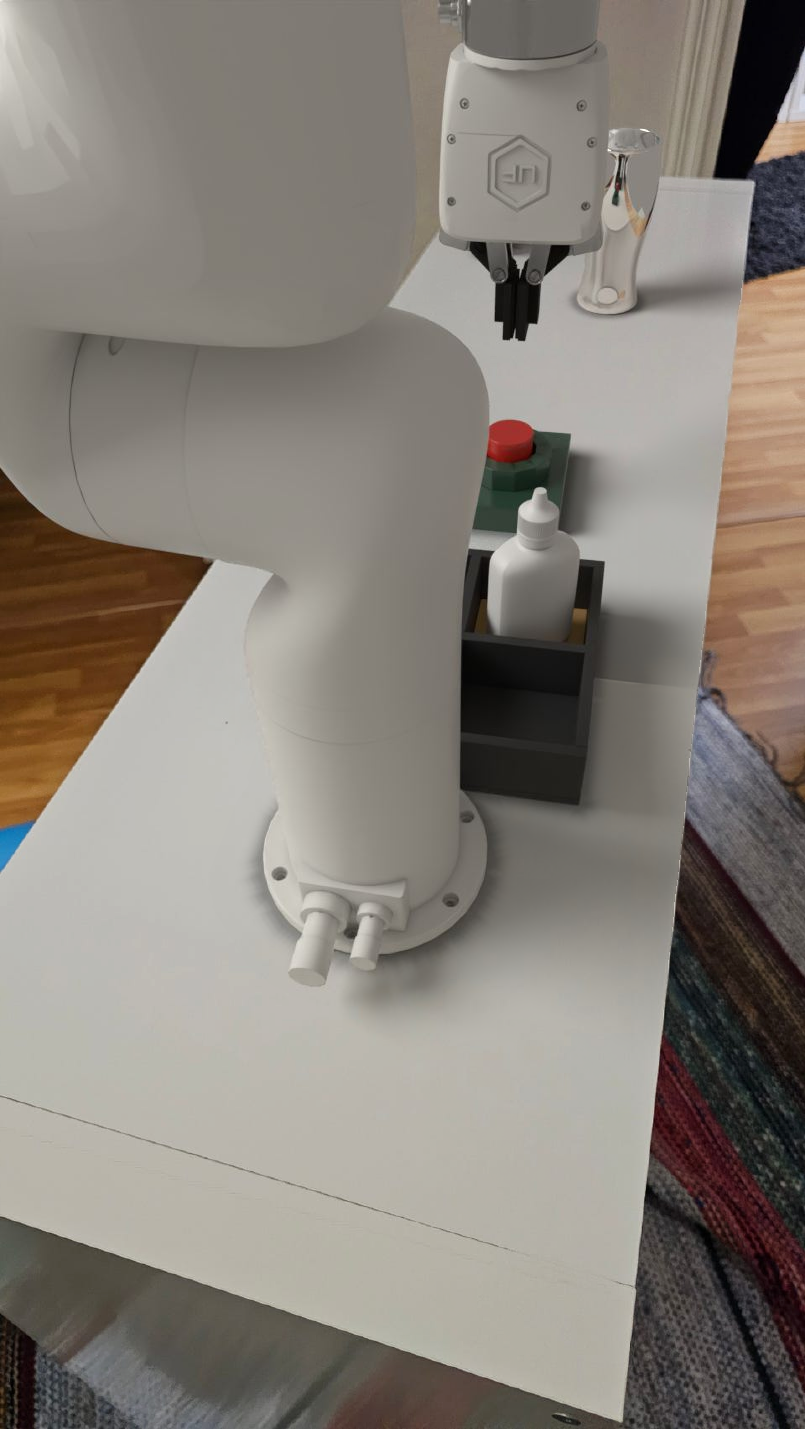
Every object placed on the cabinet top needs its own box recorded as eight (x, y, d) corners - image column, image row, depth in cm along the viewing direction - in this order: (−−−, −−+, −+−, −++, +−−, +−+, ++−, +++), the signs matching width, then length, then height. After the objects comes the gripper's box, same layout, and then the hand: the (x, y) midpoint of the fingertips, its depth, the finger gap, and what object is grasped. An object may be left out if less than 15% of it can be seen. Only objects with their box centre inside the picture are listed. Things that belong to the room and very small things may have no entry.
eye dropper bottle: (488, 615, 66) (494, 467, 57) (570, 619, 66) (588, 470, 57) (484, 660, 64) (490, 511, 55) (570, 665, 63) (589, 515, 54)
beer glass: (621, 281, 101) (642, 121, 90) (653, 309, 97) (679, 145, 86) (561, 293, 100) (575, 132, 89) (590, 322, 96) (609, 157, 84)
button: (529, 466, 73) (531, 446, 72) (482, 463, 74) (483, 443, 73) (534, 440, 76) (536, 420, 74) (489, 437, 76) (490, 417, 75)
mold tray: (578, 806, 56) (587, 756, 53) (299, 768, 59) (289, 719, 56) (597, 611, 67) (605, 560, 64) (361, 587, 70) (356, 537, 67)
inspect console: (557, 537, 73) (561, 493, 70) (440, 527, 75) (440, 483, 72) (568, 456, 80) (573, 413, 77) (462, 448, 82) (462, 405, 79)
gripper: (387, 40, 53) (402, 352, 67) (665, 42, 50) (620, 365, 64) (413, 2, 58) (422, 301, 71) (668, 2, 55) (625, 311, 69)
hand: (516, 331), depth 68 cm, fingers closed
